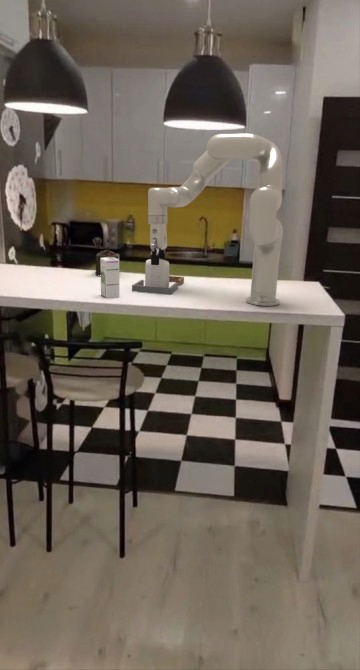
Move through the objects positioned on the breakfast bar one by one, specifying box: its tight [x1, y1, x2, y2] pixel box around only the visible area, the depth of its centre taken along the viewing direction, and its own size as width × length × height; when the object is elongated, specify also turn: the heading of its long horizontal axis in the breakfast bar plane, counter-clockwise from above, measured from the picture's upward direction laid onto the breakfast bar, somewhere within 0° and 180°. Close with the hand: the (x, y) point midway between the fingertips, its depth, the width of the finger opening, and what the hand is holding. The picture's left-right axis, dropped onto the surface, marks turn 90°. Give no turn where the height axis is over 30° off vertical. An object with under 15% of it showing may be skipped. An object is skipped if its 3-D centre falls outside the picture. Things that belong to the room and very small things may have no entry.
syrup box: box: [100, 257, 120, 299], centre depth 191 cm, size 6×6×14 cm
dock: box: [169, 275, 185, 287], centre depth 224 cm, size 9×15×2 cm, turn 78°
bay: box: [131, 279, 179, 295], centre depth 208 cm, size 14×16×2 cm
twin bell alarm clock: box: [92, 236, 120, 276], centre depth 234 cm, size 16×11×18 cm
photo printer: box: [144, 258, 170, 288], centre depth 209 cm, size 10×4×12 cm, turn 74°
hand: (158, 263), depth 205 cm, fingers open, 9 cm apart
